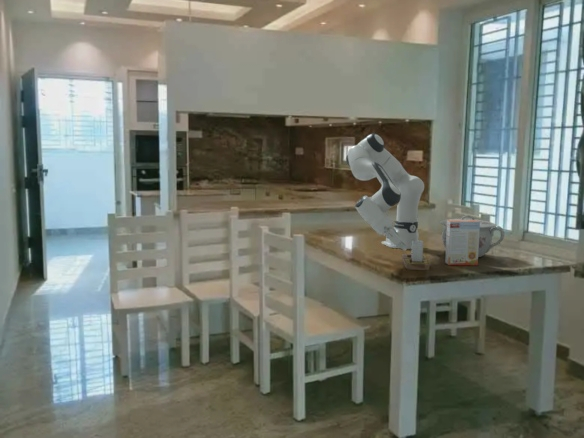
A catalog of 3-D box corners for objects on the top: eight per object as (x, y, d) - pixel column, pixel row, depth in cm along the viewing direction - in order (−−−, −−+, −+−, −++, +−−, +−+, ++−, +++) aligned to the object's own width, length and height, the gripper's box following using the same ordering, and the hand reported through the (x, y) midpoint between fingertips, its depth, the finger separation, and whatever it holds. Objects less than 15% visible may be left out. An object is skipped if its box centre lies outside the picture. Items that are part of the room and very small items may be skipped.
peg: (410, 265, 266) (412, 240, 265) (420, 266, 266) (422, 240, 264) (411, 267, 262) (413, 241, 260) (421, 268, 261) (423, 242, 260)
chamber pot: (427, 252, 301) (429, 212, 299) (470, 249, 311) (473, 211, 308) (460, 262, 275) (463, 219, 273) (507, 259, 285) (510, 218, 282)
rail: (401, 258, 282) (401, 253, 282) (422, 259, 281) (422, 254, 281) (406, 269, 258) (406, 263, 258) (429, 270, 257) (429, 264, 257)
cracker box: (473, 263, 275) (476, 219, 272) (477, 265, 269) (480, 221, 266) (444, 262, 275) (446, 219, 272) (448, 265, 269) (450, 220, 266)
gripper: (390, 224, 252) (412, 247, 252) (387, 218, 272) (407, 239, 272) (380, 234, 253) (401, 256, 253) (377, 227, 273) (397, 248, 273)
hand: (404, 247), depth 263 cm, fingers open, 8 cm apart
